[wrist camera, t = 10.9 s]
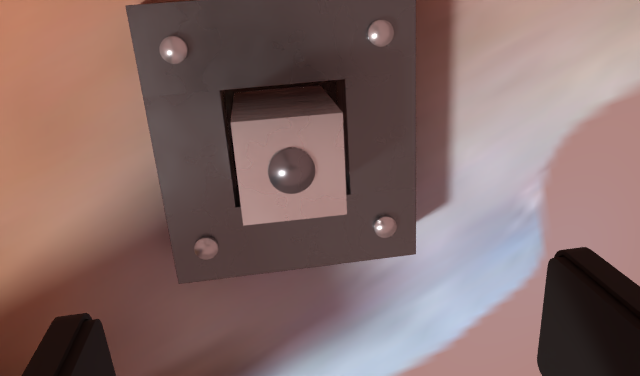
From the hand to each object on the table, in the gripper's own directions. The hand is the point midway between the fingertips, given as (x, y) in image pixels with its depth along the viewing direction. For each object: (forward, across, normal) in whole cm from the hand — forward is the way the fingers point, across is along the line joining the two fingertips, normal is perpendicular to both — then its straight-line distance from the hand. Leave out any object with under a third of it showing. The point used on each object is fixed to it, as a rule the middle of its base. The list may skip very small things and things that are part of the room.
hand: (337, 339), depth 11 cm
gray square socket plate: (+19, 0, 0) cm, 19 cm away
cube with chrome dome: (+19, 0, 0) cm, 19 cm away
